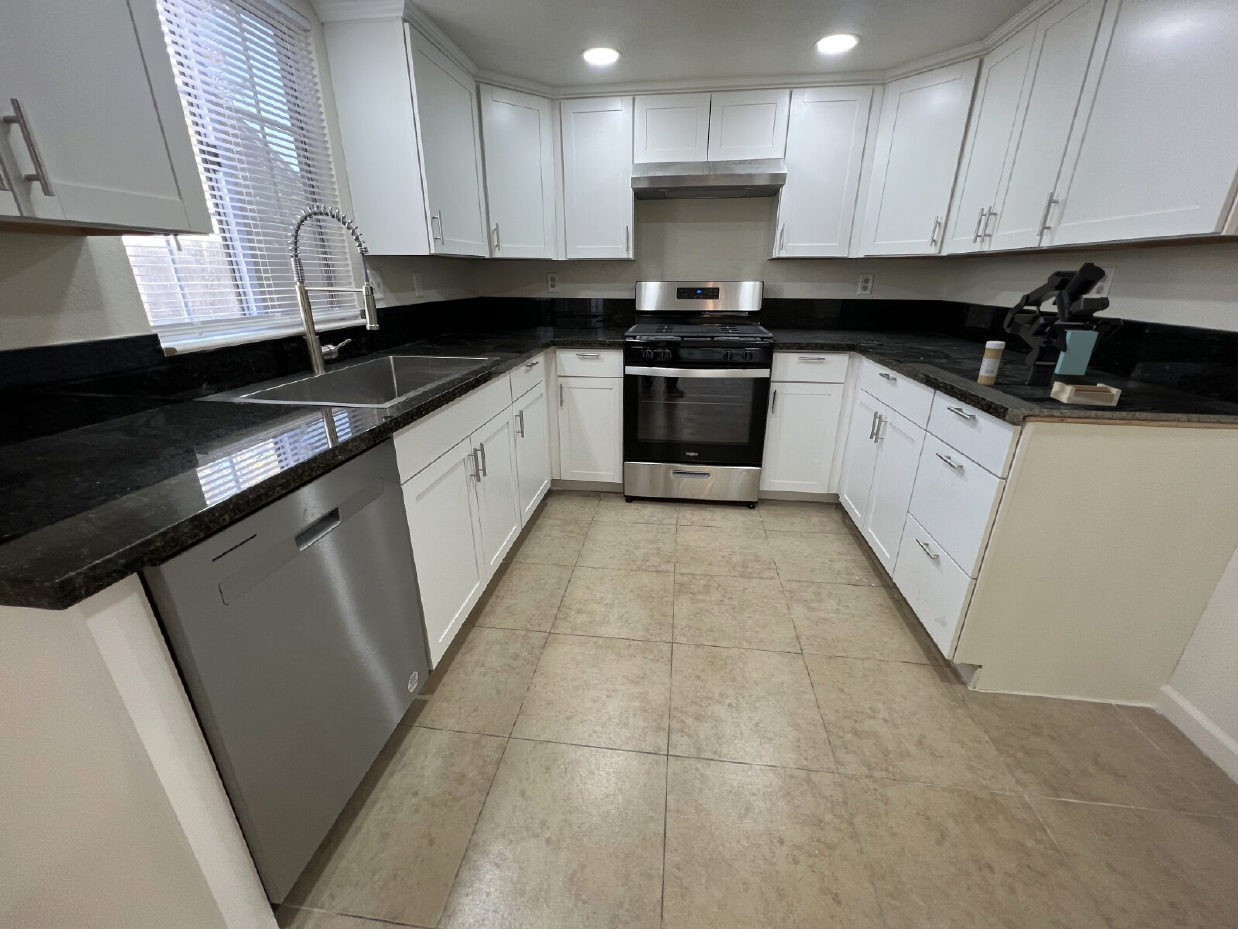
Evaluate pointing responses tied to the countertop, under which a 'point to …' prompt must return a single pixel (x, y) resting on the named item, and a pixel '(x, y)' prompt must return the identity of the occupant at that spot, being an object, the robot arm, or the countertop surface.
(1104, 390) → the offcut stack
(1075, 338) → the tall sheet
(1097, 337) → the robot arm
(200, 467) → the countertop surface
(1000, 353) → the sprinkles bottle
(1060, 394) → the board rack
